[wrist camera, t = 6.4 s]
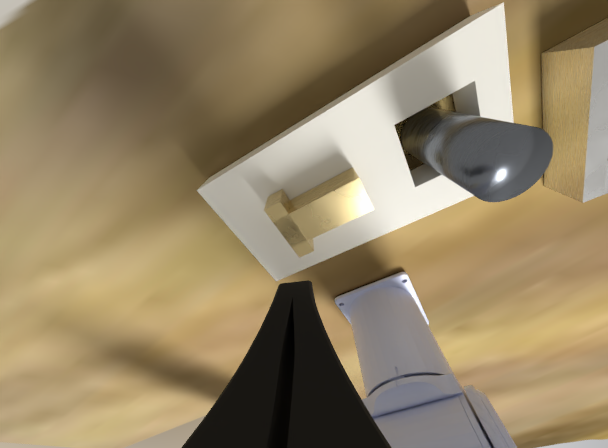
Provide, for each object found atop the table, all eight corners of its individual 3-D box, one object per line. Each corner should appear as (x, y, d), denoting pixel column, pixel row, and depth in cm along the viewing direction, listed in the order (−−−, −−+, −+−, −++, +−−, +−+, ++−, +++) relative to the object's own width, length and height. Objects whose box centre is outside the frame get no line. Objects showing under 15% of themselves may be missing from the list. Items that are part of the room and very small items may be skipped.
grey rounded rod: (450, 141, 17) (553, 181, 10) (407, 162, 18) (475, 213, 11) (441, 97, 15) (553, 109, 9) (394, 123, 16) (463, 153, 9)
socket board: (491, 165, 18) (517, 176, 16) (278, 262, 23) (276, 281, 20) (470, 15, 13) (503, 2, 11) (209, 177, 18) (196, 190, 16)
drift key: (371, 207, 17) (379, 221, 15) (299, 241, 18) (299, 257, 16) (346, 153, 15) (352, 162, 13) (267, 196, 16) (263, 210, 14)
